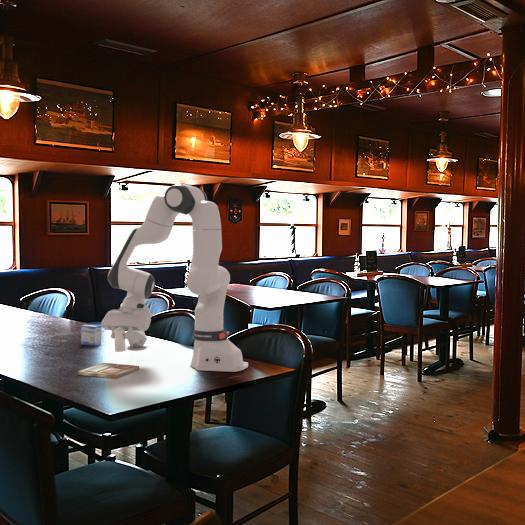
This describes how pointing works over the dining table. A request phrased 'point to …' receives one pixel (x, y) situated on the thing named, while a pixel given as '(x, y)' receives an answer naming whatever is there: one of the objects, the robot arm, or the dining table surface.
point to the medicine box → (91, 335)
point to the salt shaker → (119, 340)
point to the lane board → (108, 370)
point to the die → (137, 339)
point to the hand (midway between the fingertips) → (118, 337)
